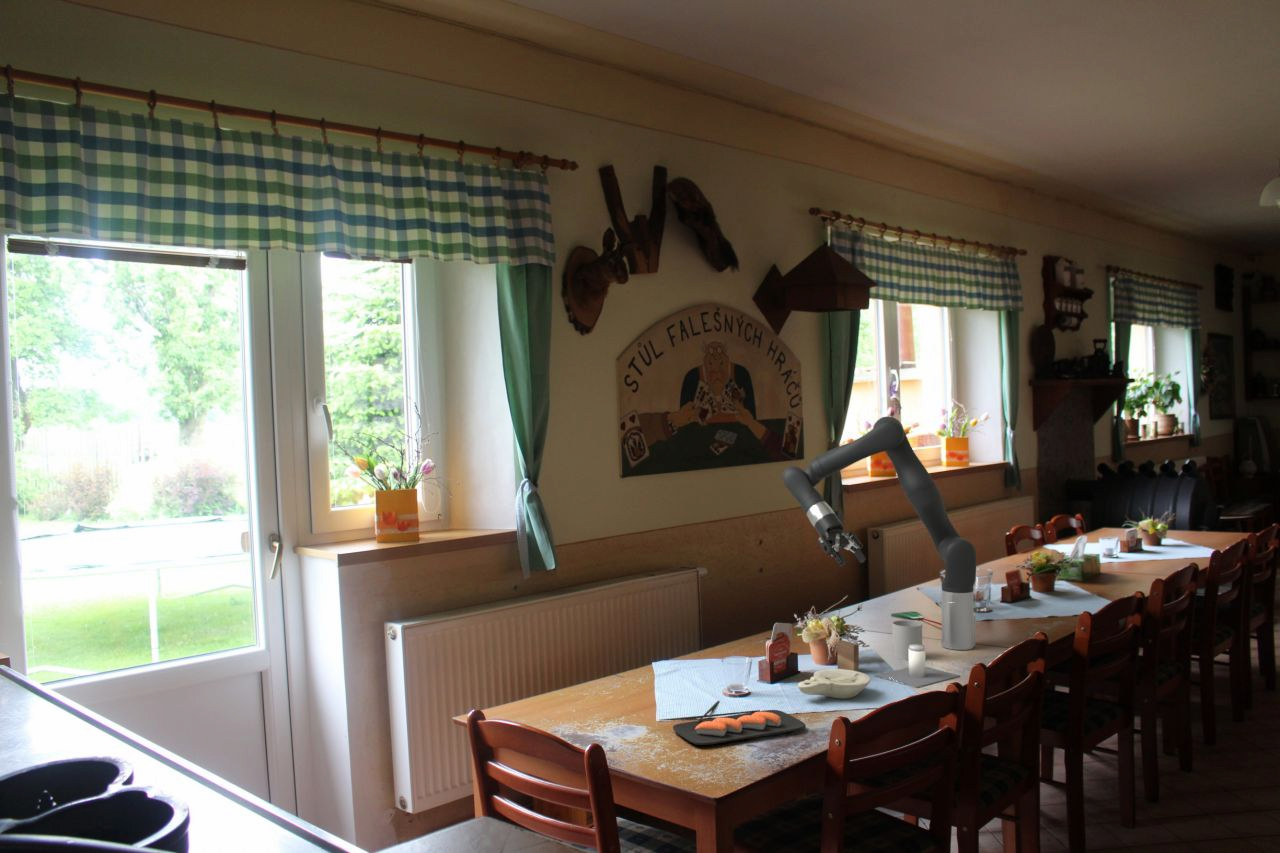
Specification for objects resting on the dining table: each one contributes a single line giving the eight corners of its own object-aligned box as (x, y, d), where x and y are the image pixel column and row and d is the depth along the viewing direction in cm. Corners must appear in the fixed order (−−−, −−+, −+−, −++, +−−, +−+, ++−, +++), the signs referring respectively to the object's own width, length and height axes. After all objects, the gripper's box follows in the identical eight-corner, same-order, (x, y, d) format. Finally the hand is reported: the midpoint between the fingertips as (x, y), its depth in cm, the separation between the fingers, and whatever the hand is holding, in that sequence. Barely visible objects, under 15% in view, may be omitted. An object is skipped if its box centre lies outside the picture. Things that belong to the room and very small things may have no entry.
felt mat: (918, 665, 280) (918, 664, 280) (960, 676, 269) (960, 675, 269) (875, 676, 270) (875, 675, 270) (916, 688, 258) (916, 686, 258)
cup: (923, 661, 285) (923, 627, 284) (893, 660, 286) (893, 626, 286) (920, 654, 293) (920, 620, 293) (892, 653, 294) (892, 619, 294)
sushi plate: (696, 753, 213) (696, 735, 213) (640, 714, 240) (640, 698, 240) (811, 734, 224) (811, 717, 224) (745, 699, 252) (745, 684, 252)
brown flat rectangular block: (842, 668, 278) (842, 640, 278) (858, 673, 273) (858, 644, 273) (837, 669, 277) (837, 641, 277) (853, 674, 272) (853, 645, 272)
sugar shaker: (915, 672, 272) (915, 643, 272) (928, 675, 269) (928, 646, 268) (905, 674, 270) (905, 645, 269) (918, 678, 266) (918, 648, 266)
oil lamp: (820, 711, 240) (819, 690, 240) (781, 696, 252) (781, 677, 252) (882, 697, 251) (882, 677, 251) (842, 683, 263) (842, 665, 263)
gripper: (814, 514, 293) (844, 557, 284) (847, 510, 302) (876, 552, 293) (801, 530, 298) (830, 573, 289) (834, 526, 306) (863, 567, 297)
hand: (853, 562), depth 291 cm, fingers open, 8 cm apart
